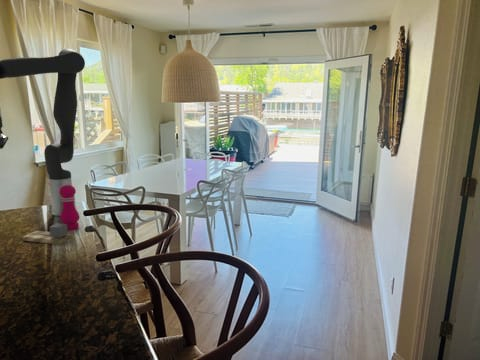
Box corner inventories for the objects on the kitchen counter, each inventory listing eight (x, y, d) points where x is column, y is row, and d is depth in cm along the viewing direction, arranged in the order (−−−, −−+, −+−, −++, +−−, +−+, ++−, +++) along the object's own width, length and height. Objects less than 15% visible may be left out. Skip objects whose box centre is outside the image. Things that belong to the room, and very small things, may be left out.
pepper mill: (83, 225, 151) (79, 180, 147) (74, 231, 144) (70, 183, 140) (67, 224, 152) (63, 179, 147) (57, 230, 144) (52, 183, 140)
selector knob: (50, 236, 132) (49, 226, 131) (58, 232, 136) (57, 223, 135) (59, 237, 131) (58, 227, 130) (67, 233, 135) (66, 223, 135)
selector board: (23, 240, 133) (22, 236, 133) (37, 234, 140) (36, 230, 140) (60, 244, 130) (59, 240, 130) (72, 237, 137) (72, 233, 137)
